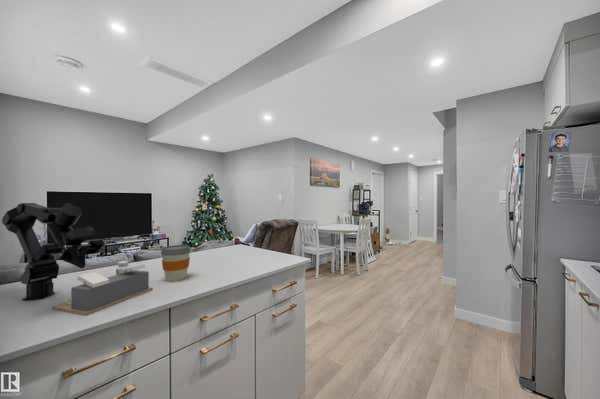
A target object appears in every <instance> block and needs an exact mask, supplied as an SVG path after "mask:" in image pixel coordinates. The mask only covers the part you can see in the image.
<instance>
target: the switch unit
mask: <svg viewBox="0 0 600 399" xmlns="http://www.w3.org/2000/svg"><path fill="white" fill-rule="evenodd" d="M149 274H150V273H149V271H145V270H139V269H138V270H135V271H131V272H128V273H122V274H119V275H116V274H115V275H112V276H109V277H107V278H108V279H109V283H107V284H104V285H101V286H97V287H94V288H92V287H90V286H88V285H86V284H84V283H83V284H80V285H77V286H73V287H70V288H71V289H70V290H71V294H70V295H71V296H70V299H71V300H69V301H66V302H64V303H61V304H57V305H54V306H52V308H51V309H52V310H54V311H60V312H66V313H71V314H76V315H81V316H89V315H91V314H93V313H96V312H99V311H102V310H104V309H107V308H109V307H112V306H114V305H116V304H119V303H123V302H124V301H127V300H130V299H132V298H135V297H138V296H140V295H143V294H146V293H148V292H150V291H152V290H153V287H151V286H150V285H149V280H150V279H149V278H150V277H149Z"/></svg>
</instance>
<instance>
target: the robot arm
mask: <svg viewBox="0 0 600 399" xmlns="http://www.w3.org/2000/svg"><path fill="white" fill-rule="evenodd" d="M82 214H83V209H82V208H80V207H79V206H77V205H74V204H73V203H72V202H71V203H69V202H68V203H65V202H64V204H63V206H61V207H48V206H44V205H40V204H38V203H34V202H21V203H18V204H17V206H16V207H14V208H12V209H10V210H7V211H6V212H5V214H4V215H3V217H2V220H1V223H2V225H3V226H4V227H5V228H6V229H7V231H8V232H10V233H13V234H15V235H16V237H17V239H18V241H19V243H20V246H21V248H22V251H23V253H24V254H25V257H26V259H27V262H28V263H27V264H26V266H25V267H24V272H23V273H22V275H21V276H20V282H21V284H23V285H26V288H25V290H26V293H25V296H26V297H24V298H22V299H21V300H22V301H28V300H30V301H31V300H42V299H44V298H47V297H49V296H51V295H52V296H53V294H56V291H54V282H53V279H57V278H58V275H59V270H60V265H59V264H58V261H63V262H66V263H68V264H71V265H73V266H75V267H77V268H79V269H84V268H86V255H93V254H97V253H99V251H100V250H101V249H102V248H103V247H104V245H105V242H104V241H103V239H93V240H89V241H88V243H86V244H82V243H85V242H86V239H87V238H90V237H91V236H94V235H95V234H96V233H95V229H94V228H93V227H92V226H86V227H76V228H72V226H75V225H76V223H77V222H78V220H79V219H80V217H81V215H82ZM36 221H38V222H39V223H41V224H48V226H47V230H46V235H51V236H52V238H53V242H52V243H50V244H48V243H47V244H42V245H41V243H40V240H39V238H38V237H37V235H36V232H35V230H34V226H35V224H36ZM54 255H59V256H58V261H56V259H55V256H54Z"/></svg>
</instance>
